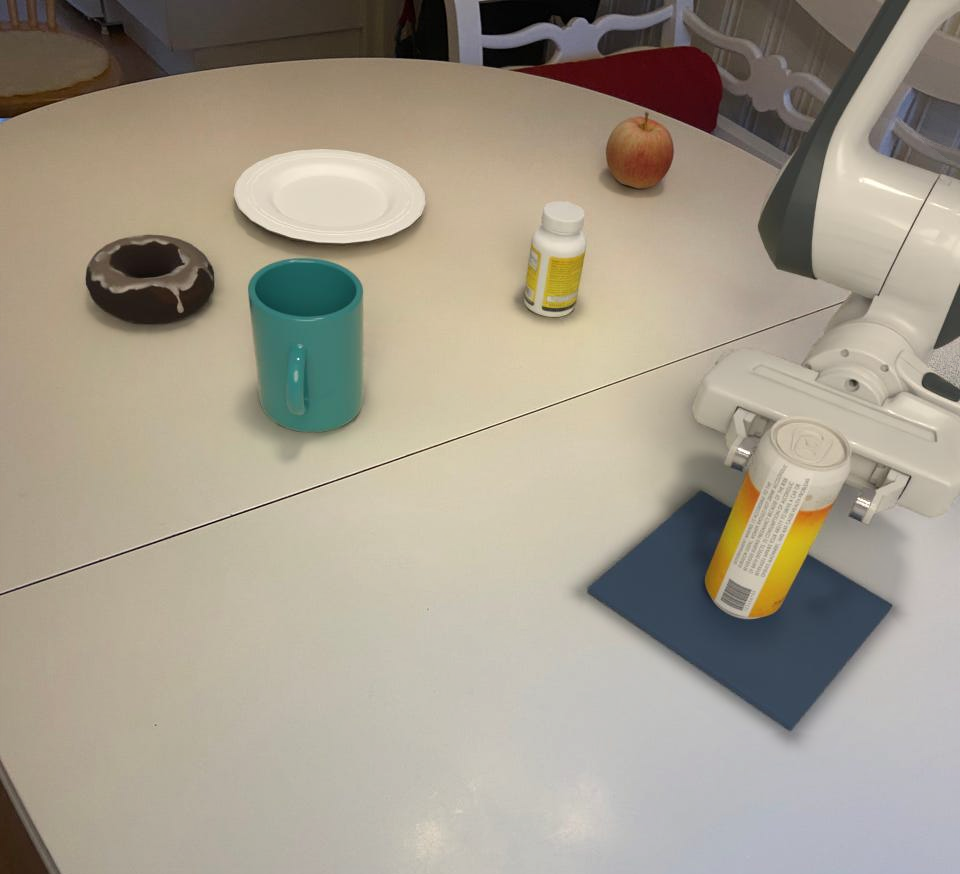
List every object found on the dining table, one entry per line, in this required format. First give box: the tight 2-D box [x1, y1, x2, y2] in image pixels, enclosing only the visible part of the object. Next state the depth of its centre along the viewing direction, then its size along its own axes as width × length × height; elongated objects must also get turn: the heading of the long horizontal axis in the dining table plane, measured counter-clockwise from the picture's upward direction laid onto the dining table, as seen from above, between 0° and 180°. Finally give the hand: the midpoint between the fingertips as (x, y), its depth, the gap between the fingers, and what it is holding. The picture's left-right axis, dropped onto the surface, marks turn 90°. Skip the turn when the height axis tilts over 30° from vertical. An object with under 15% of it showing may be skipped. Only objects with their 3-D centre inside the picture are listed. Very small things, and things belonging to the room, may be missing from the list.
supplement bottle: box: [523, 200, 587, 318], centre depth 94 cm, size 5×5×10 cm
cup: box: [247, 257, 365, 433], centre depth 79 cm, size 9×12×11 cm
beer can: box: [705, 416, 851, 619], centre depth 68 cm, size 6×6×15 cm
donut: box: [85, 234, 215, 325], centre depth 91 cm, size 12×12×4 cm
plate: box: [233, 148, 427, 246], centre depth 106 cm, size 21×21×2 cm
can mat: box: [587, 489, 893, 731], centre depth 74 cm, size 18×16×1 cm
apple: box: [605, 111, 675, 189], centre depth 114 cm, size 8×8×8 cm
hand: (797, 487), depth 68 cm, fingers open, 8 cm apart
